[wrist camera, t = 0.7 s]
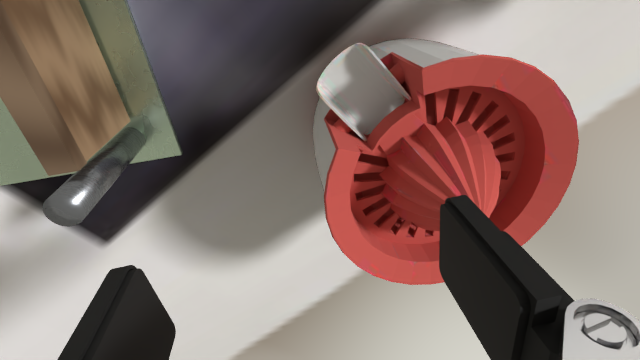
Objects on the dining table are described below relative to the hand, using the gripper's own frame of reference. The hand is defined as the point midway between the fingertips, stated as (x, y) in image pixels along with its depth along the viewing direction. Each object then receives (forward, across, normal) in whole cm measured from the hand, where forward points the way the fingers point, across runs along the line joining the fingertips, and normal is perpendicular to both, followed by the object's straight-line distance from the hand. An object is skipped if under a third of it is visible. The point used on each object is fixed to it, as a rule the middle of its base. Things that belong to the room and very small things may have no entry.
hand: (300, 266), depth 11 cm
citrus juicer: (+26, -9, +4) cm, 27 cm away
